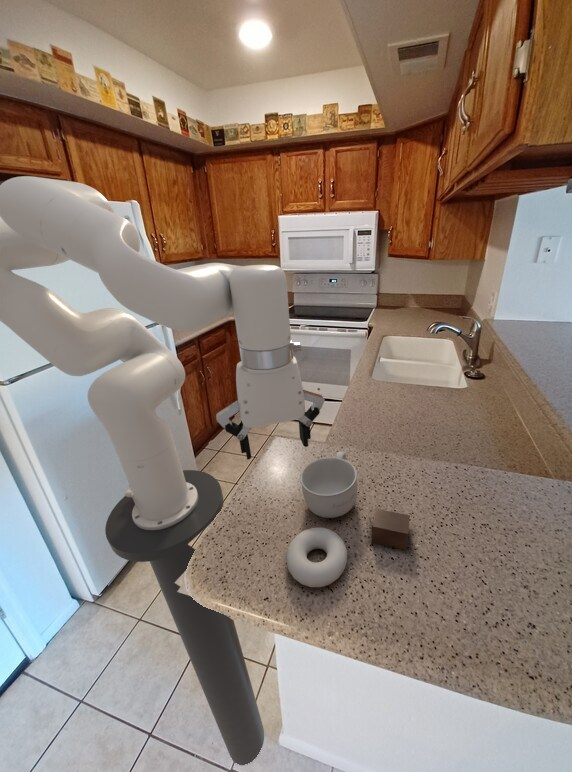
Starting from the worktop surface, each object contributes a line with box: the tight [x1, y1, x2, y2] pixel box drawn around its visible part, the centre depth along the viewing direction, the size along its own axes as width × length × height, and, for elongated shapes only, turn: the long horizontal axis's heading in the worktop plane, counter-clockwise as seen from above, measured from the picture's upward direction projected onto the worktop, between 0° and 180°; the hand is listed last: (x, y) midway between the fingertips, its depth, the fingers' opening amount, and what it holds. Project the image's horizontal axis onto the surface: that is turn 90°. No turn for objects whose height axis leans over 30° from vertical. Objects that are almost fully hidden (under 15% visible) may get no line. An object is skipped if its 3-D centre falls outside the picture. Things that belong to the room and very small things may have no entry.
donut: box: [285, 527, 348, 588], centre depth 53 cm, size 10×4×10 cm
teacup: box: [299, 451, 358, 519], centre depth 65 cm, size 14×11×8 cm
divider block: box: [371, 508, 411, 551], centre depth 57 cm, size 6×4×4 cm, turn 73°
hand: (276, 448), depth 56 cm, fingers open, 9 cm apart
